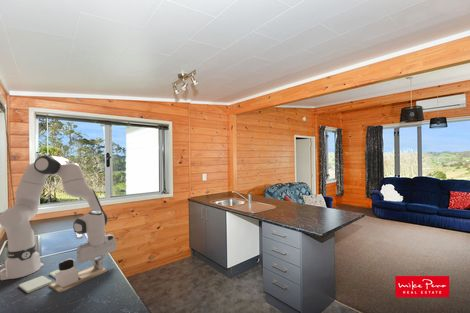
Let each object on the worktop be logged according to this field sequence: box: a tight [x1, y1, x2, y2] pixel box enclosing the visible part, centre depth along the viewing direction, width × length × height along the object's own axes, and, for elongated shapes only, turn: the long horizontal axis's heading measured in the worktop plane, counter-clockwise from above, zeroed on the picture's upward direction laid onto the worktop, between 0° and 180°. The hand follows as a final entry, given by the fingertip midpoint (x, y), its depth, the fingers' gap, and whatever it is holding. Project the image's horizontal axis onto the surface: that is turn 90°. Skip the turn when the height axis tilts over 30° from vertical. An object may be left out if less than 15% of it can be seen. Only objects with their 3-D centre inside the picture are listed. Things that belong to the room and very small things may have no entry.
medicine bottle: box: [55, 258, 79, 288], centre depth 118 cm, size 7×7×12 cm
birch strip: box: [48, 257, 108, 293], centre depth 123 cm, size 12×22×6 cm, turn 148°
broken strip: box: [18, 257, 80, 294], centre depth 124 cm, size 12×22×6 cm, turn 148°
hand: (98, 263), depth 132 cm, fingers closed on birch strip, 2 cm apart
